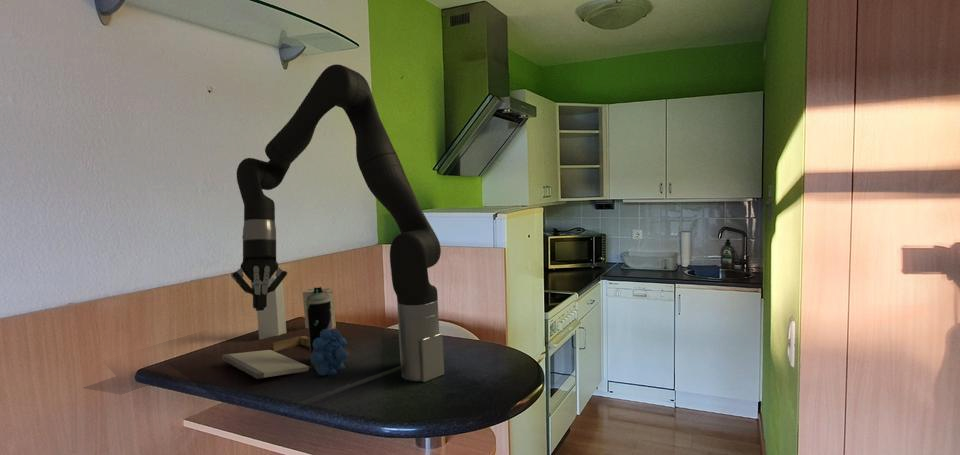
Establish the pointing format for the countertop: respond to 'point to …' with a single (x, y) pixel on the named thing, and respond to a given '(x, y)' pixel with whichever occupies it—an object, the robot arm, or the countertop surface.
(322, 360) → the grapes
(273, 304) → the milk
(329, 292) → the supplement box
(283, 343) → the wooden u-shaped bracket
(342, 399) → the countertop surface
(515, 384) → the countertop surface
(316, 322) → the spray can
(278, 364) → the cream thin rectangular board
